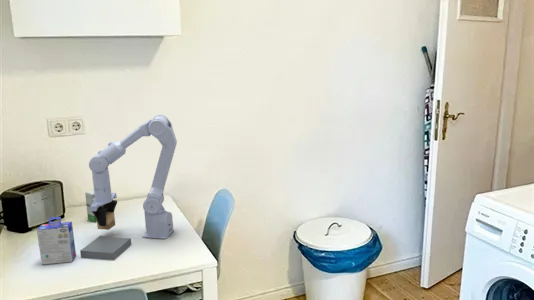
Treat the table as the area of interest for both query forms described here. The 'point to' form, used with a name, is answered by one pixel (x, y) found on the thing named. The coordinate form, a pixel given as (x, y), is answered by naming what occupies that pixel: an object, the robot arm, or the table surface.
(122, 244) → the gray square plate
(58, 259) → the ink cartridge box
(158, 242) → the table surface
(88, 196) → the white cardboard box
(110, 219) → the wooden block
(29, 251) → the table surface
